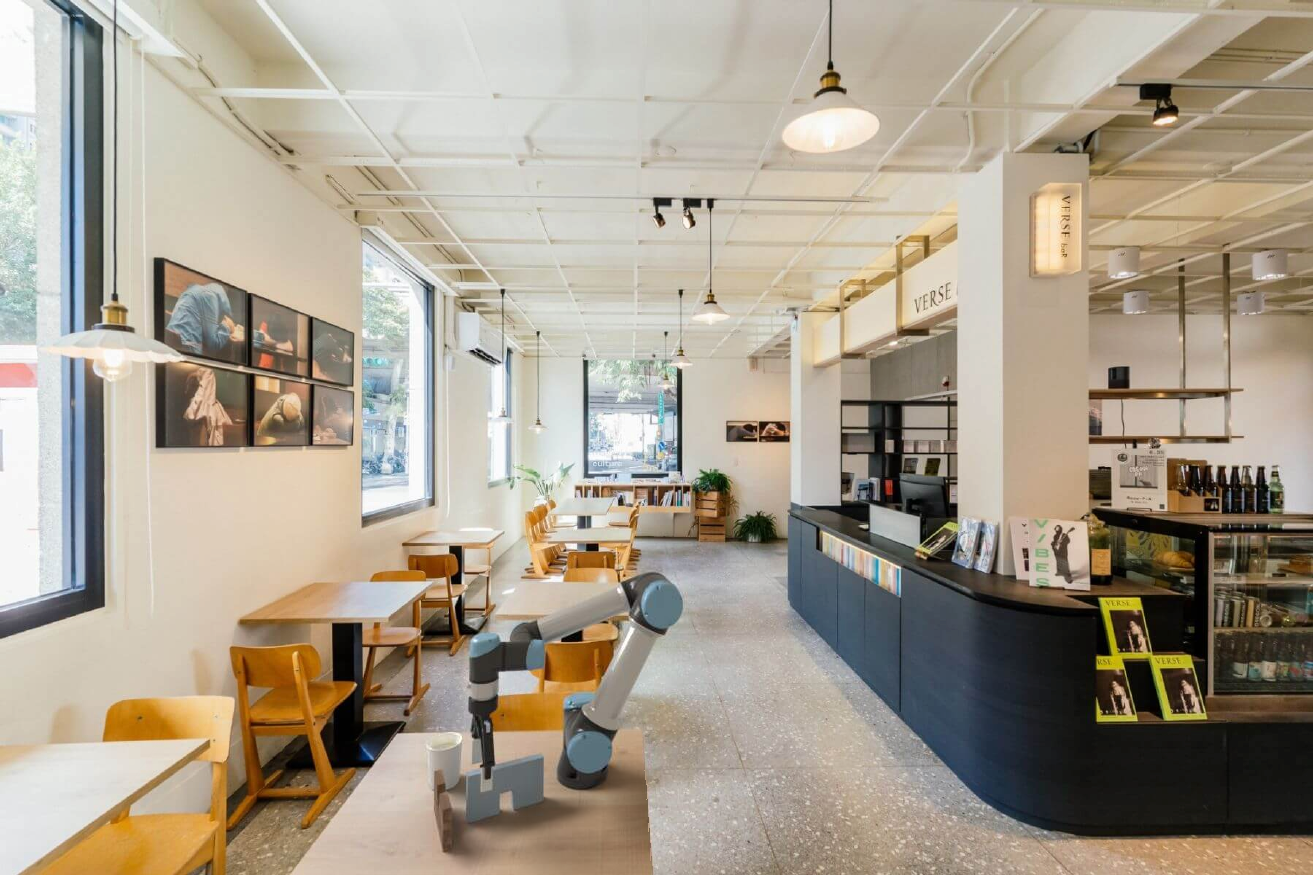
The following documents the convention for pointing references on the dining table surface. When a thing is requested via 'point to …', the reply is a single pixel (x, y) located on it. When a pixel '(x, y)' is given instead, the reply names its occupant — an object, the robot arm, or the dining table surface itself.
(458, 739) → the candle holder
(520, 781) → the slate plate
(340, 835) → the dining table surface
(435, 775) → the walnut rail
